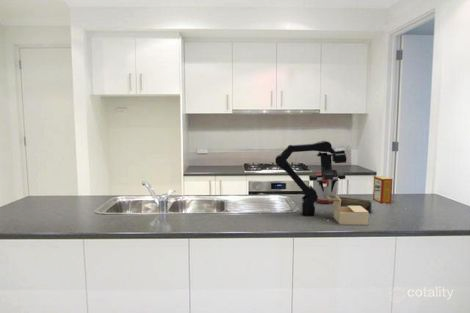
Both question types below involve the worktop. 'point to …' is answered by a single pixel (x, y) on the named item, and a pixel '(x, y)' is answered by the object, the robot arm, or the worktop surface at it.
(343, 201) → the beverage carton
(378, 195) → the baking soda box
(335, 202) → the cabinet door with handle
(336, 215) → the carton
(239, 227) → the worktop surface
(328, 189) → the citrus juicer
